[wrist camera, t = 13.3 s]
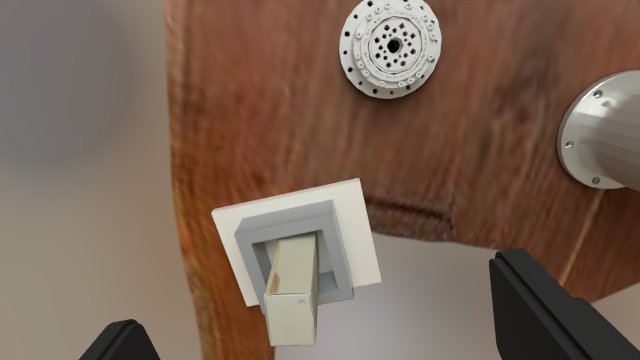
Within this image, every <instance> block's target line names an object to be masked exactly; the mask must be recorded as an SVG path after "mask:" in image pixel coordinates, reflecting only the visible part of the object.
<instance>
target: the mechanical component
mask: <svg viewBox="0 0 640 360" xmlns="http://www.w3.org/2000/svg"><path fill="white" fill-rule="evenodd" d="M368 2H370V3H372V6H371V7H369V6H368V5H367V3H368ZM354 16H357V19H355V18H354ZM386 19H387V20H386ZM384 20H385V21H384ZM381 22H382V23H381ZM376 26H377V27H376ZM385 28H388V30H387V31H386V30H384V29H385ZM393 29H394V33H393V31H392V30H393ZM345 32H348V33H350V34H349V37H346V36H345V35H344V34H345ZM371 33H372V34H371ZM403 34H404V36H403ZM382 36H385V38H382ZM389 36H390V37H389ZM375 38H377V39H378V42H377V43H375V40H374V39H375ZM395 40H397V41H398V42H399V44H400V48H399V50H398V51H397V48H398V44H397V42H396V41H395ZM389 41H394V43H395V46H396V48H395V51H394V53H390V52H389V50H388V48H387V44H388V42H389ZM379 46H380V47H381V50H380V49H378V48H379ZM440 49H441V33H440V28H439V24H438V20H437V19H436V17H435V15H434V14H433V12H432V10H431V9H430V7H429V6H428V5H427V4H426V3H425V2H424V1H422V0H407V2H404V1H403V0H364V1H363V2H361V3H360V4H359V5H358V6H357V7H356V8H355V9H354V10H353V12H352V13H351V14H350V16H349V17H348V18H347V20H346V22H345V25H344V27H343V30H342V33H341V38H340V46H339V53H340V59H341V64H342V67H343V69H344V71H345V73H346V75H347V77H348V78H349V80H350V81H351V82H352V83H353V84H354V85H355V86H356V87H357V88H358V89H360V90H361V91H363V92H364V93H366V94H367V95H369V96H373V97H377V98H386V99H392V98H396V97H401V96H404V95H406V94H409V93H411V92H413V91H414V90H415V89H417V88H418V87H419V86H421V85H422V84H423V83H424V82H425V81H426V80H427V78H428V77H429V76H430V74H431V73H432V72H433V70H434V68H435V65H436V63H437V60H438V58H439V55H440ZM344 51H347V54H346V55H344V53H343V52H344ZM396 51H397V52H396ZM383 52H385V53H383ZM376 54H379V57H378V59H377V58H376V56H375V55H376ZM393 54H394V55H393ZM404 54H405V55H404ZM403 55H404V56H403ZM377 56H378V55H377ZM384 56H386V58H385V60H384ZM394 60H396V61H395V62H394ZM431 61H432V62H431ZM387 63H389V66H386V64H387ZM349 67H351V68H352V69H353V70H352V71H351V72H348V71H347V70H348V68H349ZM379 70H381V71H379ZM385 72H386V73H385ZM391 73H394V74H391ZM421 76H422V77H421ZM360 81H362V84H361V85H359V84H358V83H359V82H360ZM406 85H409V88H408V89H406ZM373 89H377V90H376V93H372V92H373ZM391 91H392V94H390V92H391Z"/></svg>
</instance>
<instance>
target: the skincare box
mask: <svg viewBox="0 0 640 360" xmlns="http://www.w3.org/2000/svg"><path fill="white" fill-rule="evenodd" d="M318 285H319V248H318V236H317V230H316V231H311V232H306V233H301V234H296V235H291V236H286V237H281V238H279V241H278V245H277V248H276V252H275V256H274V260H273V263H272V267H271V271H270V275H269V278H268V282H267V286H266V289H265V293H264V307H265V315H266V321H267V328H268V333H269V339H270V343H271V346H314V345H315V343H316V326H317V305H318Z"/></svg>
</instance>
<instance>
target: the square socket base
mask: <svg viewBox="0 0 640 360" xmlns="http://www.w3.org/2000/svg"><path fill="white" fill-rule="evenodd" d="M211 214H212V216H213V219H214V221H215V224H216V227H217V229H218V232H219V235H220V237H221V240H222V242H223V245H224V248H225V250H226V253H227V255H228V258H229V261H230V263H231V266H232V268H233V271H234V274H235V276H236V279H237V282H238V284H239V287H240V289H241V292H242V295H243V297H244V300H245V302H246V305H247V306H253V305H259V304H260V307H261V310H262V313H263V315H264V314H265V307H264V293H265V289H266V286H267V282H268V278H269V275H270V271H271V267H272V263H273V260H274V256H275V252H276V248H277V245H278V241H279V238H281V237H286V236H291V235H296V234H301V233H306V232H311V231H316V230H317V236H318V248H319V285H318V305H320V304H326V303H331V302H337V301H342V300H348V299H354V291H353V287H357V286H364V285H369V284H374V283H380V282H382V281H381V276H380V272H379V267H378V262H377V258H376V253H375V248H374V244H373V239H372V235H371V230H370V225H369V221H368V216H367V212H366V207H365V202H364V198H363V193H362V189H361V184H360V180H359V178H356V179H352V180H347V181H342V182H338V183H333V184H329V185H324V186H319V187H315V188H310V189H306V190H301V191H296V192H292V193H287V194H282V195H278V196H273V197H269V198H264V199H259V200H255V201H250V202H246V203H241V204H236V205H232V206H227V207H222V208H218V209H214V210H213V211H212V212H211Z"/></svg>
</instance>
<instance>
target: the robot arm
mask: <svg viewBox="0 0 640 360" xmlns="http://www.w3.org/2000/svg"><path fill="white" fill-rule="evenodd" d="M557 152H558V157H559V160H560V162H561V164H562V166H563V168H564V169H565V170H566V172H567V173H568V174H569V175H570V176H572V177H573V178H574V179H576V180H578V181H579V182H581V183H583V184H585V185H588V186H590V187H594V188H600V189H617V188H622V187H629V188H631V189H634V190H636V191H638V192H640V70H630V71H623V72H619V73H615V74H612V75H610V76H607V77H605V78H603V79H601V80H599V81H598V82H596V83H594V84H593V85H591V86H590V87H588V88H587V89H586V90H585V91H584V92H582V93H581V94H580V95H579V96H578V97H577V99H576V100H575V101H574V102H573V103H572V104H571V106H570V107H569V109H568V110H567V112H566V113H565V115H564V117H563V120H562V122H561V124H560V127H559V131H558V135H557ZM489 269H490V280H491V291H492V301H493V312H494V324H495V334H496V343H497V348H498V351H499V354H500V356H501V358H502V360H640V351H639V350H638V349H637V348H636V347H635V346H633V344H631V343H630V342H629V341H628V340H627V339H626V338H625V337H624V336H623V335H622V334H621V333H620V332H619V331H618V330H617V329H616V328H615V327H614V326H613V325H611V324H610V323H609V322H608V321H607V320H606V319H605V318H604V317H603V316H602V315H601V314H600V313H599V312H598V311H597V310H596V309H595V308H594V307H593V306H592V305H591V304H589V303H588V302H587V301H585V300H584V299H582V298H579V297H577V298H573V297H572V296H571V295H570V294H569V293H568V292H567V291H566V290H565V289H564V288H563V287H562V286H561V285H560V284H559V283H558V282H557V281H556V280H555V279H554V278H553V277H552V276H551V275H550V274H549V273H548V272H547V271H546V270H545V269H544V268H543V267H542V266H541V265H540V264H539V263H538V262H537V261H536V260H535V259H534V258H533V257H532V256H531V255H530V254H529V253H528V252H527V251H526V250H524V249H523V248H515V249H510V250H504V251H499V252H497V253H496V255H495V259H490V261H489ZM79 360H160V358H159V356H158V354H157V352H156V350H155V348H154V346H153V344H152V342H151V340H150V338H149V336H148V334H147V333H146V331H145V329H144V327H143V326H142V325H141V324H138V322H137V321H136V320H134V319H129V320H124V321H118V322H113V323H111V324H109V325H108V326H107V327H106V328H105V329H104V330H103V331H102V333H101V334H100V335H99V336H98V337H97V339H96V340H95V341H94V342H93V343H92V344H91V346H90V347H89V348H88V349H87V350H86V352H85V353H84V354H83V355H82V356H81V358H80V359H79Z"/></svg>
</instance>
